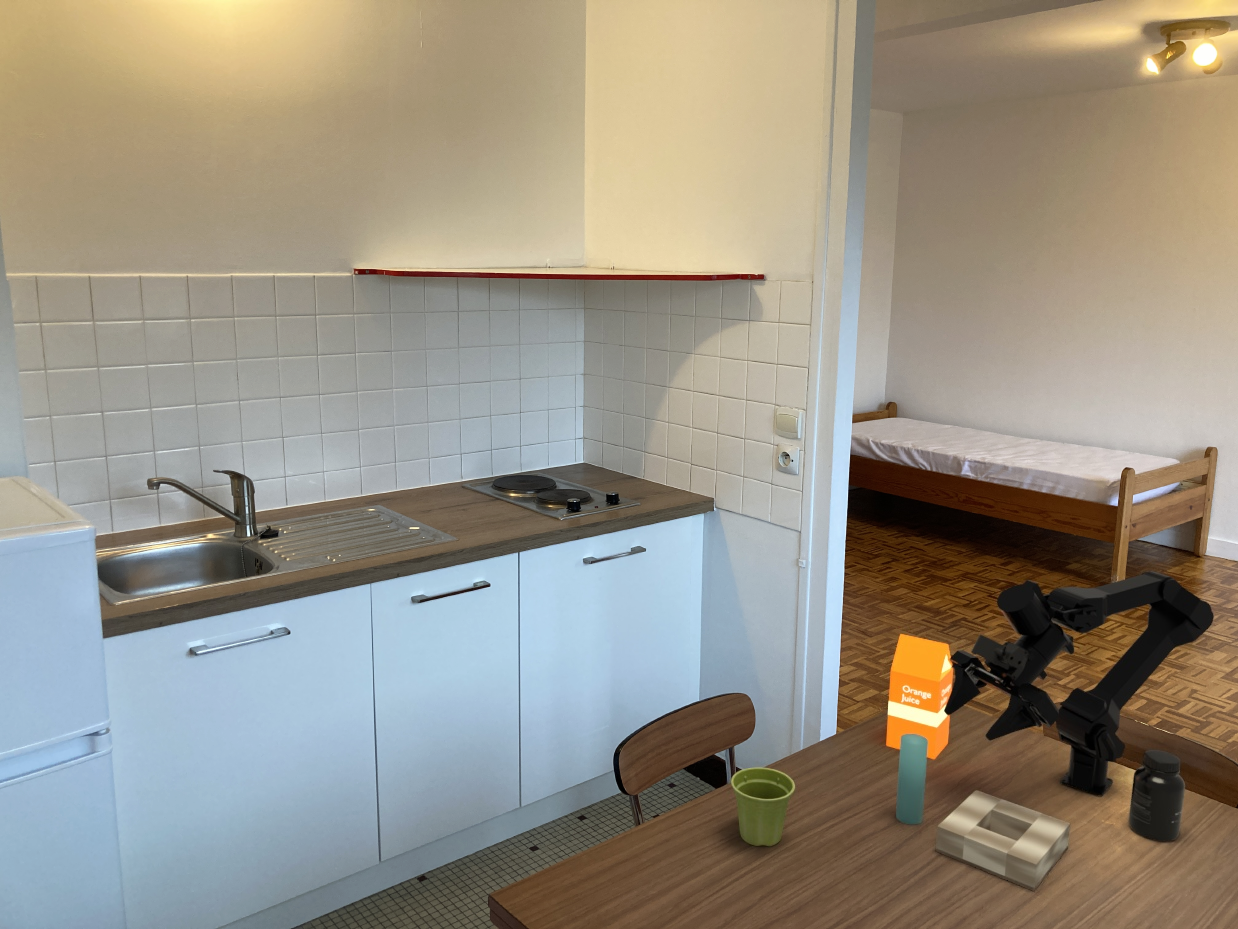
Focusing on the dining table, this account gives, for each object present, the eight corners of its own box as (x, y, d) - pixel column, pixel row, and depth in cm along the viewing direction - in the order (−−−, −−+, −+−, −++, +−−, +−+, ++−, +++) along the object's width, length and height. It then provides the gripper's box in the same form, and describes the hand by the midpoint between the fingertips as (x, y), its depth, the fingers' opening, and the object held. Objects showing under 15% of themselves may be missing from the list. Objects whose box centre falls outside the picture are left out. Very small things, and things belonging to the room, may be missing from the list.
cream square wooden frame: (974, 813, 151) (976, 790, 151) (1067, 848, 142) (1070, 823, 141) (935, 851, 141) (937, 826, 140) (1033, 891, 132) (1036, 864, 131)
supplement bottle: (1186, 845, 143) (1195, 770, 141) (1136, 840, 144) (1144, 765, 142) (1169, 820, 150) (1178, 748, 148) (1122, 815, 151) (1130, 744, 149)
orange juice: (900, 730, 180) (907, 627, 176) (948, 743, 175) (956, 638, 171) (885, 746, 174) (891, 640, 170) (934, 760, 169) (942, 651, 165)
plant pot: (805, 835, 145) (807, 782, 143) (769, 862, 138) (771, 806, 137) (753, 812, 151) (755, 761, 150) (716, 837, 145) (718, 783, 143)
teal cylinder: (902, 808, 153) (907, 731, 151) (927, 817, 150) (932, 739, 148) (891, 818, 150) (896, 739, 148) (915, 827, 147) (920, 748, 145)
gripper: (966, 601, 157) (902, 670, 154) (1056, 640, 140) (985, 718, 137) (997, 646, 161) (935, 713, 158) (1088, 688, 144) (1019, 765, 141)
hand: (966, 725), depth 149 cm, fingers open, 9 cm apart
